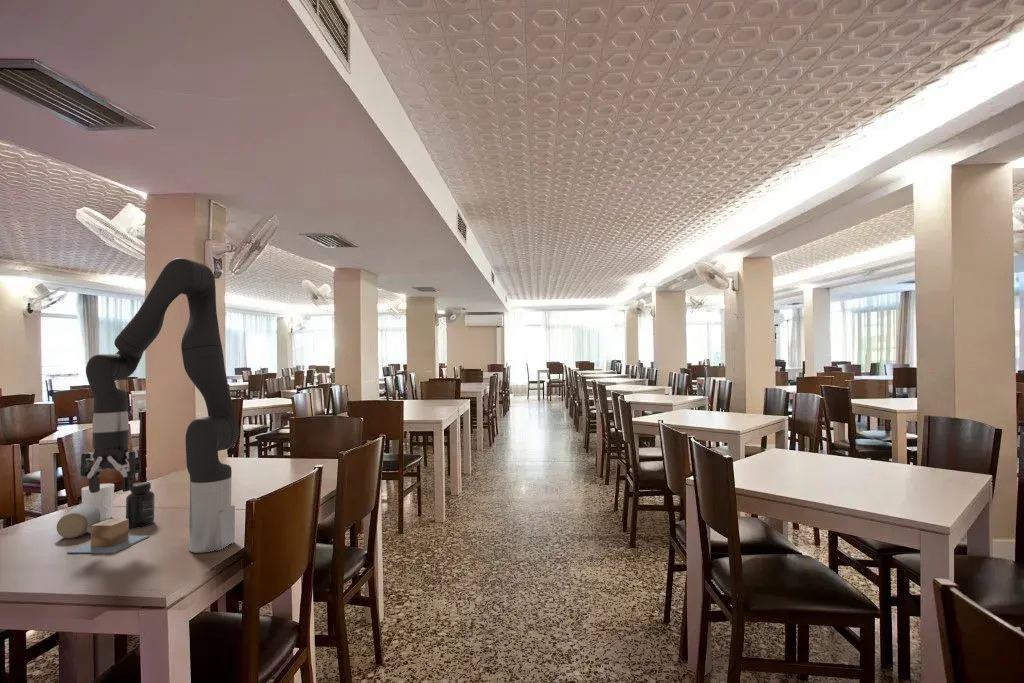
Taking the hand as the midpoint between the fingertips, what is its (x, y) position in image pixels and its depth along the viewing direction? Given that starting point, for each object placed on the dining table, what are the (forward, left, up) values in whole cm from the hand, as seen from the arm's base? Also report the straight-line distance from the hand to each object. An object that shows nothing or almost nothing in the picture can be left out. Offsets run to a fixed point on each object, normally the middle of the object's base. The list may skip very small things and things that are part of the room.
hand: (110, 491), depth 133 cm
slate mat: (0, 0, -14) cm, 14 cm away
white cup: (+23, -23, -14) cm, 36 cm away
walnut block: (0, 0, -14) cm, 13 cm away
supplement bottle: (+5, -17, -14) cm, 23 cm away
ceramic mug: (+15, -9, -14) cm, 23 cm away
